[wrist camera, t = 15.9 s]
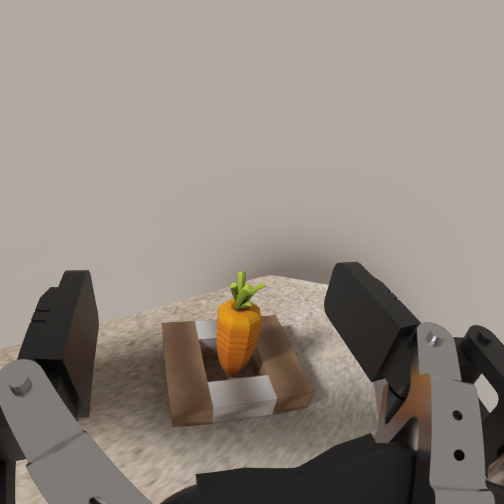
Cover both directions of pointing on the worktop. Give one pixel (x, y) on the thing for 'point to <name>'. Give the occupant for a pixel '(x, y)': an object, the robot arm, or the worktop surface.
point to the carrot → (238, 327)
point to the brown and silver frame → (237, 390)
